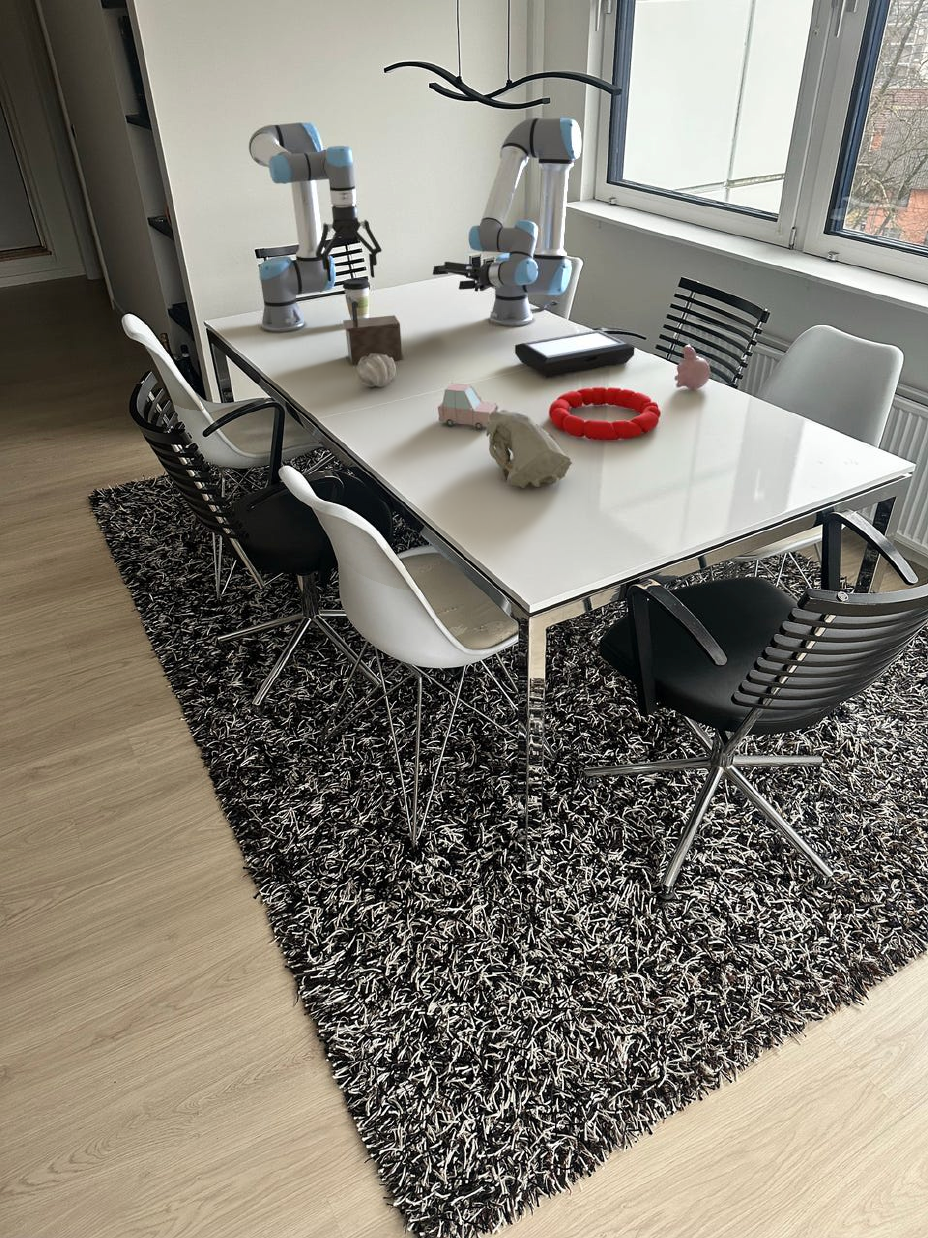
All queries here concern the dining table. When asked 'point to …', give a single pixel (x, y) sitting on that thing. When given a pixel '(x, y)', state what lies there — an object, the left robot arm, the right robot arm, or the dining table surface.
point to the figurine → (692, 370)
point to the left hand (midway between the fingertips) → (351, 278)
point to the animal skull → (525, 450)
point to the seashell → (376, 369)
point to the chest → (374, 343)
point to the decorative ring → (604, 428)
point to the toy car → (465, 406)
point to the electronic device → (574, 353)
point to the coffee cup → (358, 296)
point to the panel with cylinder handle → (368, 320)
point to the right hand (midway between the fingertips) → (447, 277)
